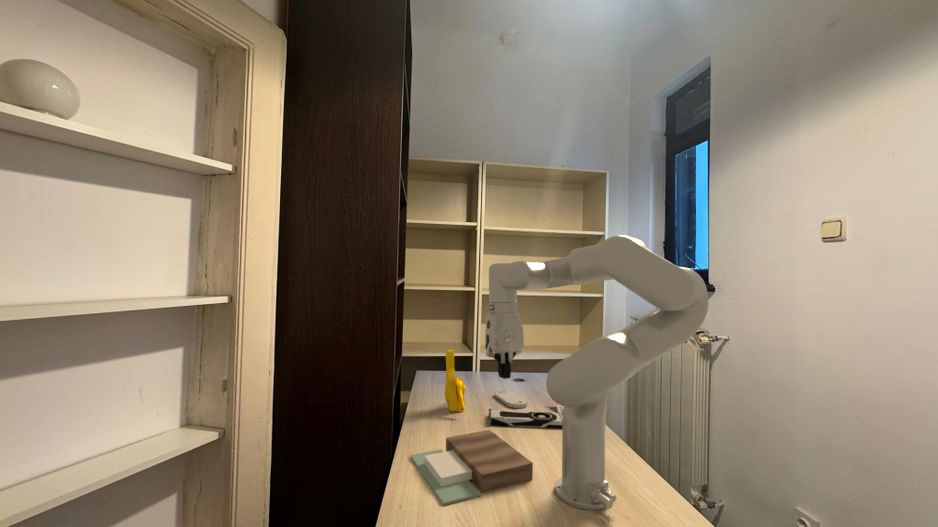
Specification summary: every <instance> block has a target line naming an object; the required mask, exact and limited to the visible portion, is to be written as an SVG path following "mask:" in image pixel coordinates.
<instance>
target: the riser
mask: <svg viewBox="0 0 938 527" xmlns="http://www.w3.org/2000/svg"><path fill="white" fill-rule="evenodd" d="M445 438H446V439H445V452H446V451H451V450H453V451H454V452H455V453H456V454H457V455H458V456H459V457H460V459H461V460H462V461H463V462H464V463H465V464H466V465H467V466H468V467H469V468H470V469H471V470H472V479H471V480H470V482H471V483H472V484H473V485H474V486H475V487H476V488H477V490H478V491H479V492H480V493H487V492H490V491H493V490H497V489H502V488H506V487H509V486H514V485H517V484H521V483H524V482H528V481H531V480H533V470H534V469H533V465H534V464H533V461H531V460H530V459H529V458H527V457H526V456H525V455H523V454H521V453H520V452H519V451H518V450H516V448H514V447H513V446H511V445H510V444H509V443H507V442H506V440H504V439H502V438H501V437H500V436H498V435H497V434H496V433H495V432H493V431H492V430H491V429H487V430H486V429H485V430H481V431H475V432H470V433H465V434H459V435H454V436H448V437H445Z"/></svg>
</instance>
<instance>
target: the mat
mask: <svg viewBox="0 0 938 527" xmlns="http://www.w3.org/2000/svg"><path fill="white" fill-rule="evenodd" d="M441 452H444V451H443V449H442V448H441V449H440V448H439V449H435V450H431V451H425V452H421V453H420V452H419V453H414V454H411V455H410V460H412V462H413V463H414V465H415V466H416V468H417V469H418V471H419V470H420V471H419V472H420V474H421V475H422V476H423V478H424V477H425V478H424V479H425V481H426V480H427V481H426V482H427V484H428V483H429V484H428V485H429V486H430V488H431V490H432V489H433V490H432V491H433V492H435V493H434V494H435V495H436V497H437V498H438V500H439V501H440V503H441V504H442V506H445V507H446V506H448V505H452V504H456V503H459V502H463V501H467V500H470V499H475V498H477V497H478V498H479V497H481V491H480V490H479V489H478V488H477V487H476V486H475V484H474V483H473V482H472V481H471V480H467V481H463V482H459V483H455V484H451V485H447V486H442V487H441V486H440V484H439V483H438V482H437V480H436V479H435V478H434V476H433V475H432V473H431V472H430V471H429V469H428V468H427V466H426V465H425V464H424V456H426V455H431V454H436V453H441Z"/></svg>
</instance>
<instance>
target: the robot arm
mask: <svg viewBox="0 0 938 527" xmlns="http://www.w3.org/2000/svg"><path fill="white" fill-rule="evenodd" d="M611 280H614V281H616V282H617V283H619V284H620V285H622V286H623V287H625V289H627V290H629V291H631V292H632V293H633V294H635V295H637V296H638V297H640V298H641V299H642V300H644V301H646V302H647V303H649V304H650V305H653V306H654V307H655V308H654V309H653V310H651V311H649V312H648V313H646V314H644V315H643V316H641V317H640V318H639V319H637V320H635V321H634V322H633V323H631V324H629V325H628V326H625V327H624V328H622V329H621V330H619V331H616V332H613V333H612V332H611V333H610V334H605V335H604V336H600V337H597V338H596V339H594V340H592V341H591V342H589V343H587V344H586V345H584V346H582V347H581V348H579V349H578V350H576V351H575V352H573V353H572V354H570V355H569V356H567V357H565V358H563V359H562V360H560V361H559V362H558V363H556V364H554V365H553V366H552V367H551V368H550V370H549V371H548V374H547V376H546V380H545V382H546V387H545V388H546V391H547V393H548V394H547V395H548V396H549V397H550V399H551V400H552V401H553V402H554V403H555V404H556V403H557V404H559V405H561V406H563V423H562V429H561V431H562V432H561V433H562V434H561V435H562V438H561V477H559V478H558V479H557V480H556V481H555V483H554V484H555V485H554V492H555V494H556V496H557V497H558V498H559V499H560V500H561V501H563V502H565V503H566V504H567V505H570V506H571V507H572V506H573V507H576V508H578V509H583V510H591V511H593V510H594V511H595V510H600V509H604V508H606V509H608V510H610V509H612V507H613V505H614V502H616V500H617V496H616V495H615V494H614V493H612V490H611V488H610V487H609V481H608V480H607V479H606V419H607V418H606V417H607V416H606V414H607V413H606V412H607V401H608V393H609V391H610V390H612V389H614V388H616V387H617V386H619V385H621V384H623V383H624V382H626V381H627V380H629V379H630V378H632V377H633V376H635V375H636V374H638V373H639V371H641V370H642V369H643V368H644V367H646V366H647V365H649V364H650V363H652V362H655V361H656V360H658V359H660V358H662V357H663V356H665V355H667V354H668V353H669V352H670V351H672V350H674V349H676V348H678V347H679V346H681V345H683V344H684V343H685V342H686V341H688V340H689V339H690V338H691V337H693V336H694V335H695V334H696V333H697V331H699V329H700V328H701V326H702V325H703V323H704V321H705V318H706V316H707V315H708V311H709V310H708V309H709V293H708V289H707V286H706V283H705V281H704V279H703V278H702V277H701V275H700V274H699V273H698V272H696V271H695V270H693V269H691V268H688V267H684V266H683V267H682V266H678V265H676V264H674V263H672V262H670V261H669V260H667V259H665V258H663V257H662V256H660V255H658V254H656V253H654V252H653V251H651V250H650V249H649V248H648V246H647V245H646V244H645V243H644V242H643V241H642V240H640V239H637V238H634V237H632V236H628V235H623V234H622V235H620V234H618V235H613V236H610V237H608V238H606V239H605V240H603V242H601V243H598V244H594V245H593V244H592V245H588V246H583V247H579V248H574V249H572V250H571V251H570V253H569V254H568V255H566V256H564V257H560V258H555V259H551V260H546V261H531V260H530V261H529V260H528V261H526V260H518V261H514V262H510V263H509V262H504V263H503V262H499V263H492V264H490V266H489V267H488V297H489V298H488V299H489V300H488V301H489V302H488V305H485V309H486V311H488V314H487V317H486V321H485V329H484V331H485V332H484V345H485V346H484V347H485V350H486V352H485V355H486V357H488V358H493V359H494V360H495V362H496V363H497V373H498V377H499V378H501V379H504V380H506V379H510V378H511V372H512V371H511V370H512V367H511V366H512V365H511V364H512V363H513V359H514V358H515V356H517V355H519V354H521V353H522V351H523V349H524V348H525V340H524V339H525V338H524V337H525V336H524V326H523V321H522V317H521V314H520V313H518V291H530V290H531V291H534V290H537V291H540V290H545V289H553V288H560V287H567V286H572V285H573V286H574V285H575V286H579V285H584V284H585V285H586V284H591V283H598V282H604V281H611Z"/></svg>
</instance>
